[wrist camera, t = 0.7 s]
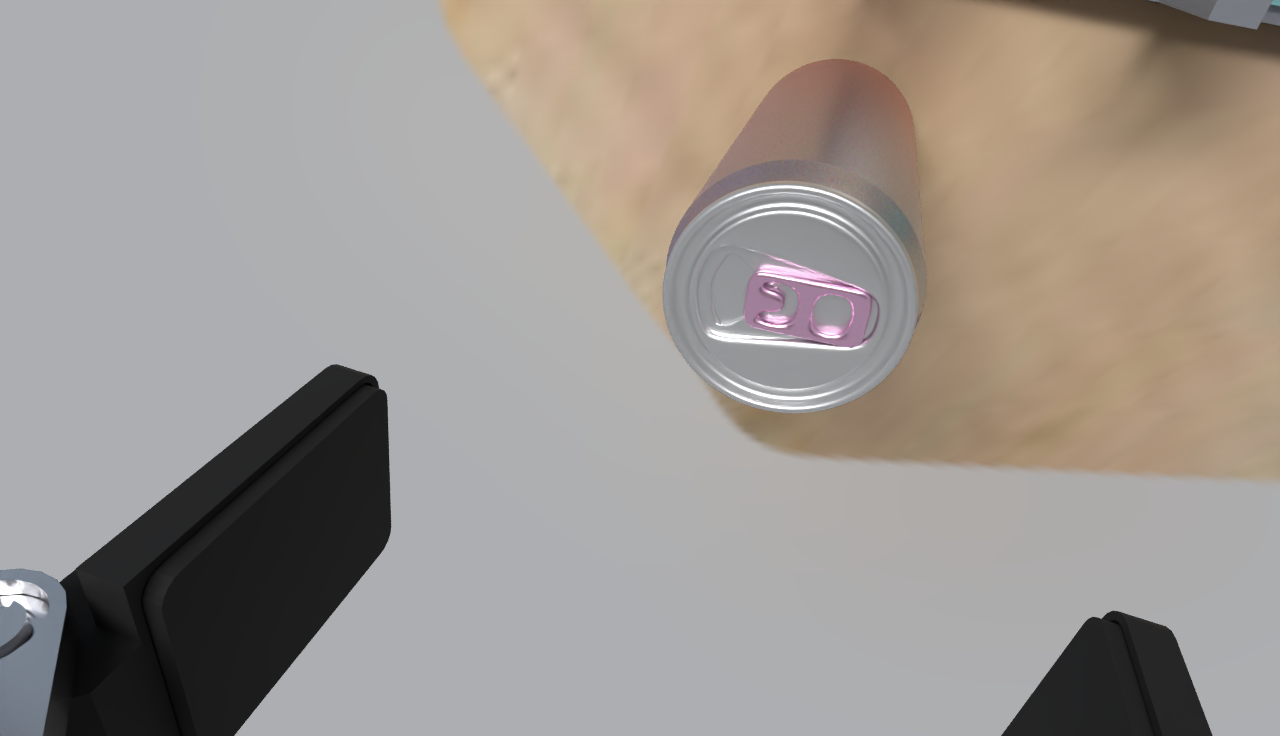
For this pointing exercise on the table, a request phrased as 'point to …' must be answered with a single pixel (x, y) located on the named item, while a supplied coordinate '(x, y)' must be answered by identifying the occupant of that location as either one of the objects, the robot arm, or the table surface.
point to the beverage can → (804, 246)
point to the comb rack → (1231, 11)
